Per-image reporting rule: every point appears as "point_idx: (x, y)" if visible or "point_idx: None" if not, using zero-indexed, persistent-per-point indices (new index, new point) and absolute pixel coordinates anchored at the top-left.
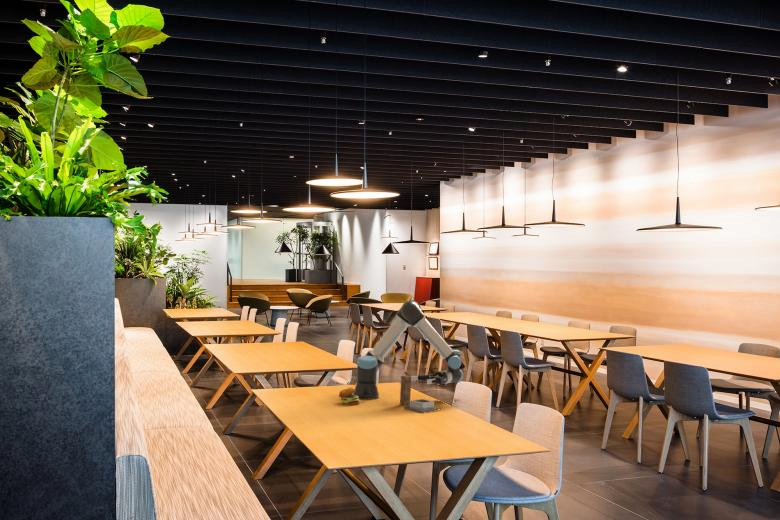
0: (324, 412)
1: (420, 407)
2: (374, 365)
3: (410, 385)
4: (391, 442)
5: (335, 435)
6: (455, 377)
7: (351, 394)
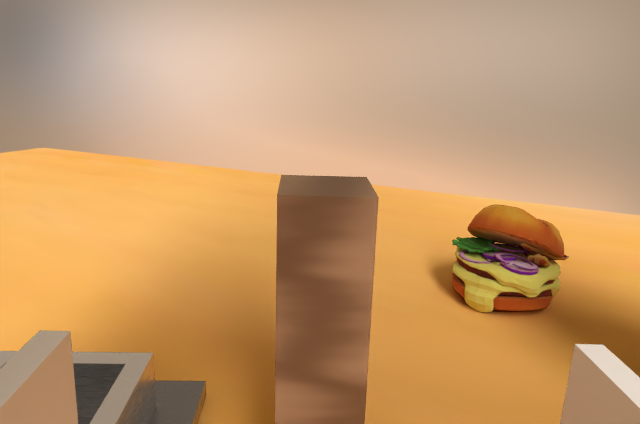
0: None
1: None
2: None
3: (276, 309)
4: None
5: (137, 174)
6: None
7: (510, 250)
